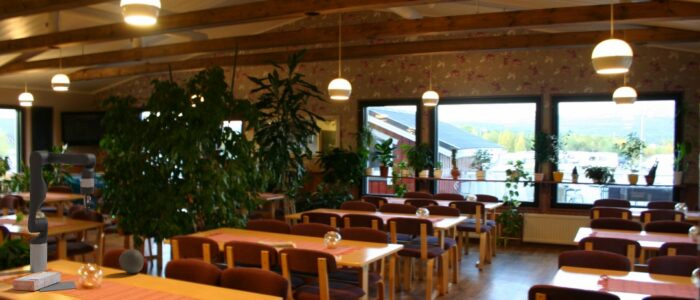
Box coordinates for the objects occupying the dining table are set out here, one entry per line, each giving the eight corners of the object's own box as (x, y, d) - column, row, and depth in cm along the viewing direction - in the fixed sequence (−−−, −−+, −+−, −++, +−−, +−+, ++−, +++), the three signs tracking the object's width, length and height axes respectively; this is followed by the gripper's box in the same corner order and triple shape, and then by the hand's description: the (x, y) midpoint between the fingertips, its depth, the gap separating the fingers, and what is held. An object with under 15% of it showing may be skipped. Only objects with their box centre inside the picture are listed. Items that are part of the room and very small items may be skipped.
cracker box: (41, 281, 347) (12, 290, 327) (40, 270, 347) (12, 279, 327) (61, 281, 344) (34, 291, 323) (61, 271, 344) (33, 280, 323)
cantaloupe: (130, 270, 380) (130, 246, 380) (148, 272, 375) (148, 248, 375) (114, 274, 367) (114, 250, 367) (132, 277, 362) (132, 252, 362)
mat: (39, 284, 340) (39, 283, 340) (74, 281, 348) (74, 280, 348) (39, 292, 324) (39, 291, 324) (76, 288, 332) (76, 287, 332)
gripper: (79, 185, 371) (79, 213, 371) (81, 187, 359) (81, 215, 360) (93, 185, 374) (92, 212, 375) (95, 186, 363) (94, 215, 363)
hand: (87, 214), depth 367 cm, fingers closed
